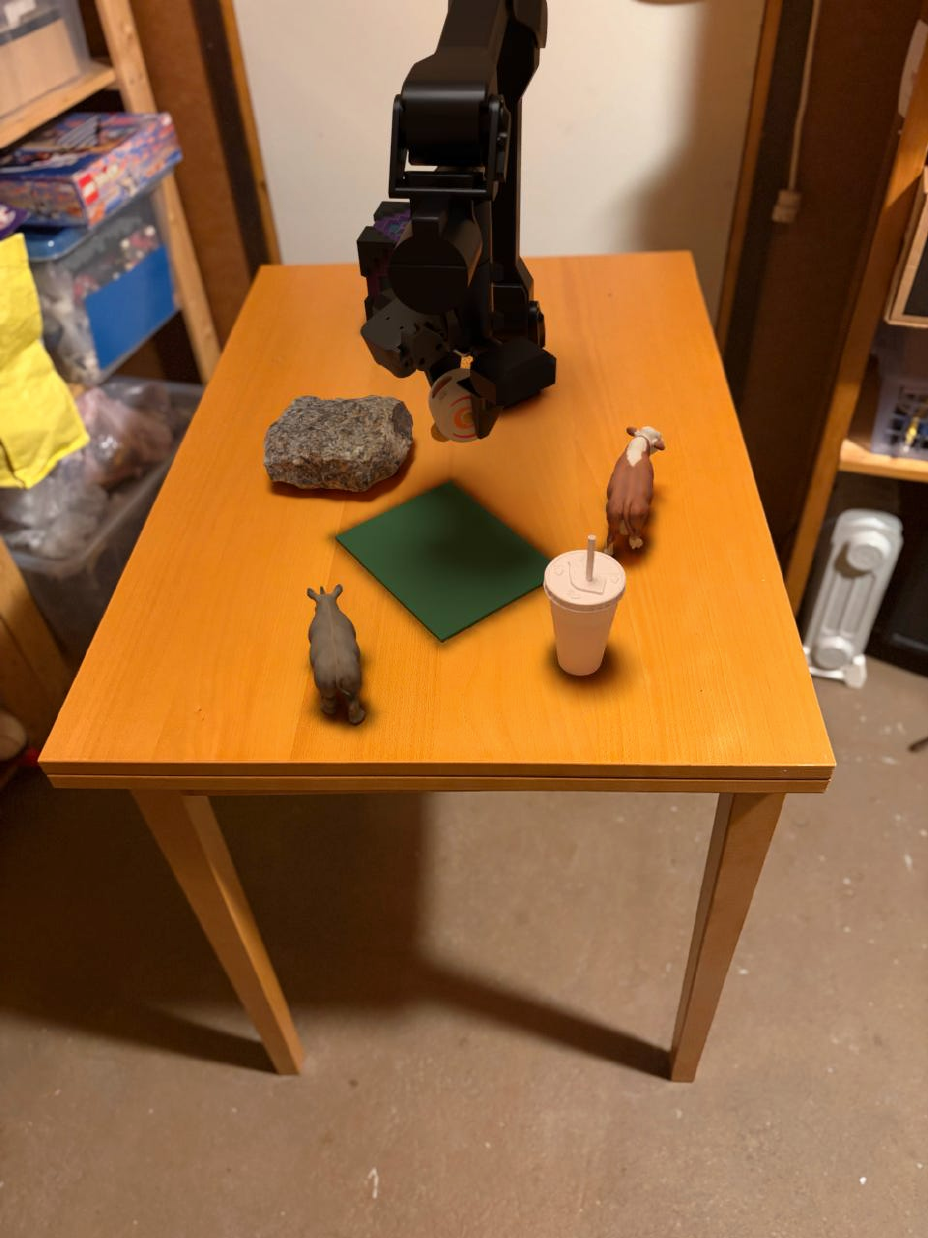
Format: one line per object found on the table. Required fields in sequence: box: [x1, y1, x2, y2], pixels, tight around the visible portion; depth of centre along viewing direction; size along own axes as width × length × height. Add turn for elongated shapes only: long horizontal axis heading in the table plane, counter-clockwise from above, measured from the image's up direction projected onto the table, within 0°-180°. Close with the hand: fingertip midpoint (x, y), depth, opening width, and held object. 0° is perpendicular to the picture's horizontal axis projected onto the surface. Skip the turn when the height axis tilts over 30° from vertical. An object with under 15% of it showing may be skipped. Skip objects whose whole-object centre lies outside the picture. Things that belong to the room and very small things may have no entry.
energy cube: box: [355, 200, 410, 322], centre depth 119 cm, size 12×12×12 cm
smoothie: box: [542, 534, 627, 677], centre depth 74 cm, size 6×6×14 cm
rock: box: [262, 394, 414, 493], centre depth 98 cm, size 13×6×15 cm
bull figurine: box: [603, 425, 666, 557], centre depth 88 cm, size 4×13×8 cm, turn 161°
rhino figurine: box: [306, 583, 366, 724], centre depth 77 cm, size 4×14×6 cm, turn 12°
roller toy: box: [427, 367, 479, 444], centre depth 83 cm, size 4×6×6 cm
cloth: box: [334, 480, 552, 643], centre depth 89 cm, size 14×18×1 cm
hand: (464, 424), depth 84 cm, fingers closed on roller toy, 5 cm apart
